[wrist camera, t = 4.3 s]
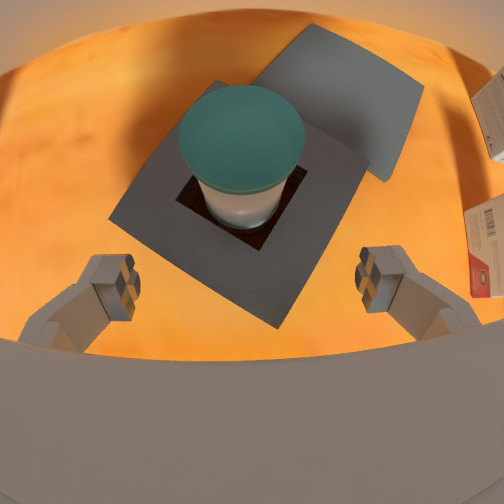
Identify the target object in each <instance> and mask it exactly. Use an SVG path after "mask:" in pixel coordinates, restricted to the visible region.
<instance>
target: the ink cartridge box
mask: <svg viewBox="0 0 504 504" xmlns="http://www.w3.org/2000/svg"><path fill="white" fill-rule="evenodd" d="M464 218H465V225H466V232H467V240H468V249H469V260H470V275H471V295H472V298H493V297H504V194H502V195H499V196H497V197H495V198H493V199H490V200H488V201H486V202H484V203H481V204H479V205H477V206H474V207H472V208H470V209H468V210H466V211H465V212H464Z"/></svg>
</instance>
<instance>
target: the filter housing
mask: <svg viewBox="0 0 504 504" xmlns="http://www.w3.org/2000/svg"><path fill="white" fill-rule="evenodd" d="M227 86H230V85H228V84H225V83H223V82H220V81H218V80H216V81H215V82H214V83H213V84H212V85H211V86H210V87H209V88H208V89H207V90H206V91H205V92H204V93H203V94H202V95H201V97H200V98H202V97H203V96H205V95H206V94H208V93H210V92H212V91H214V90H217V89H220V88H223V87H227ZM200 98H199V99H200ZM199 99H198V100H199ZM198 100H197V101H198ZM197 101H196V102H197ZM196 102H195V103H196ZM195 103H194V104H195ZM194 104H193V105H194ZM187 112H188V111H187ZM187 112H186V113H187ZM185 115H186V114H185ZM185 115H184V116H183V117H182V118H181V119H180V121H179V122H178V123H177V124H176V125H175V127H174V128H173V129H172V130H171V131H170V133H169V134H168V135H167V136H166V138H165V139H164V140H163V141H162V143H161V144H160V145H159V147H158V148H157V149H156V151H155V152H154V153H153V154H152V156H151V157H150V158H149V160H148V161H147V162H146V164H145V165H144V167H143V168H142V169H141V171H140V172H139V173H138V175H137V176H136V178H135V179H134V181H133V182H132V183H131V185H130V186H129V188H128V189H127V191H126V192H125V194H124V195H123V197H122V198H121V200H120V201H119V203H118V204H117V206H116V207H115V209H114V211H113V212H112V214H111V215H110V217H109V218H108V219H109V220H110V221H111V222H113V223H114V224H116V225H117V226H118V227H120V228H121V229H123V230H124V231H125V232H127V233H128V234H130V235H131V236H133V237H134V238H135V239H137V240H138V241H140V242H141V243H143V244H144V245H146V246H147V247H148V248H150V249H151V250H153V251H154V252H156V253H157V254H159V255H160V256H162V257H163V258H165V259H166V260H168V261H169V262H171V263H172V264H174V265H175V266H177V267H178V268H180V269H181V270H183V271H184V272H186V273H187V274H189V275H190V276H192V277H193V278H195V279H197V280H198V281H200V282H201V283H203V284H204V285H206V286H207V287H209V288H211V289H212V290H214V291H215V292H217V293H218V294H220V295H222V296H223V297H225V298H226V299H228V300H230V301H231V302H233V303H235V304H236V305H238V306H239V307H241V308H243V309H244V310H246V311H248V312H249V313H251V314H253V315H254V316H256V317H258V318H259V319H261V320H263V321H264V322H266V323H268V324H269V325H271V326H273V327H274V328H276V329H279V327H280V325H281V324H282V322H283V321H284V319H285V317H286V316H287V314H288V312H289V311H290V309H291V307H292V306H293V304H294V302H295V301H296V299H297V297H298V296H299V294H300V292H301V291H302V289H303V287H304V286H305V284H306V282H307V280H308V279H309V277H310V275H311V273H312V272H313V270H314V268H315V266H316V265H317V263H318V261H319V259H320V258H321V256H322V254H323V252H324V250H325V249H326V247H327V245H328V243H329V241H330V240H331V238H332V236H333V234H334V232H335V230H336V229H337V227H338V225H339V223H340V221H341V219H342V217H343V215H344V213H345V212H346V210H347V208H348V206H349V204H350V202H351V200H352V198H353V196H354V194H355V192H356V190H357V188H358V186H359V184H360V182H361V180H362V178H363V176H364V174H365V172H366V170H367V168H368V166H369V164H370V161H369V160H367V159H366V158H364V157H363V156H361V155H360V154H358V153H356V152H355V151H353V150H352V149H350V148H349V147H347V146H345V145H344V144H342V143H341V142H339V141H337V140H336V139H334V138H332V137H331V136H329V135H327V134H326V133H324V132H322V131H320V130H319V129H317V128H315V127H313V126H312V125H310V124H308V123H306V122H304V121H302V123H303V126H304V132H305V142H304V148H303V150H302V153H301V156H300V158H299V161H298V163H297V165H296V167H295V169H294V170H293V171H292V173H291V174H290V175H289V176H288V177H287V180H286V182H287V183H289V184H291V185H293V186H294V187H296V188H298V189H297V191H296V192H295V194H294V195H293V197H292V199H291V200H290V202H289V204H288V205H287V207H286V208H285V210H284V212H283V213H282V215H281V217H280V218H279V220H278V221H277V223H276V225H275V226H274V228H273V230H272V231H271V233H270V234H269V236H268V238H267V239H266V241H265V243H264V244H263V246H262V247H261V249H260V251H258V250H256V249H254V248H253V247H251V246H249V245H248V244H246V243H245V242H243V241H241V240H240V239H238V238H236V237H235V236H233V235H231V234H230V233H228V232H227V231H225V230H223V229H222V228H220V227H218V226H217V225H215V224H213V223H212V222H210V221H208V220H207V219H205V218H204V217H202V216H200V215H199V214H197V213H195V212H194V211H192V210H190V209H189V208H190V207H191V205H192V204H193V203H194V201H195V200H196V198H197V197H198V195H199V194H200V192H201V191H202V189H201V187H200V184H199V182H198V179H197V178H196V177H195V176H194V175H193V173H192V172H191V171H190V169H189V168H188V166H187V164H186V162H185V159H184V157H183V155H182V152H181V149H180V144H179V132H180V127H181V124H182V121H183V119H184V117H185Z"/></svg>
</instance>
